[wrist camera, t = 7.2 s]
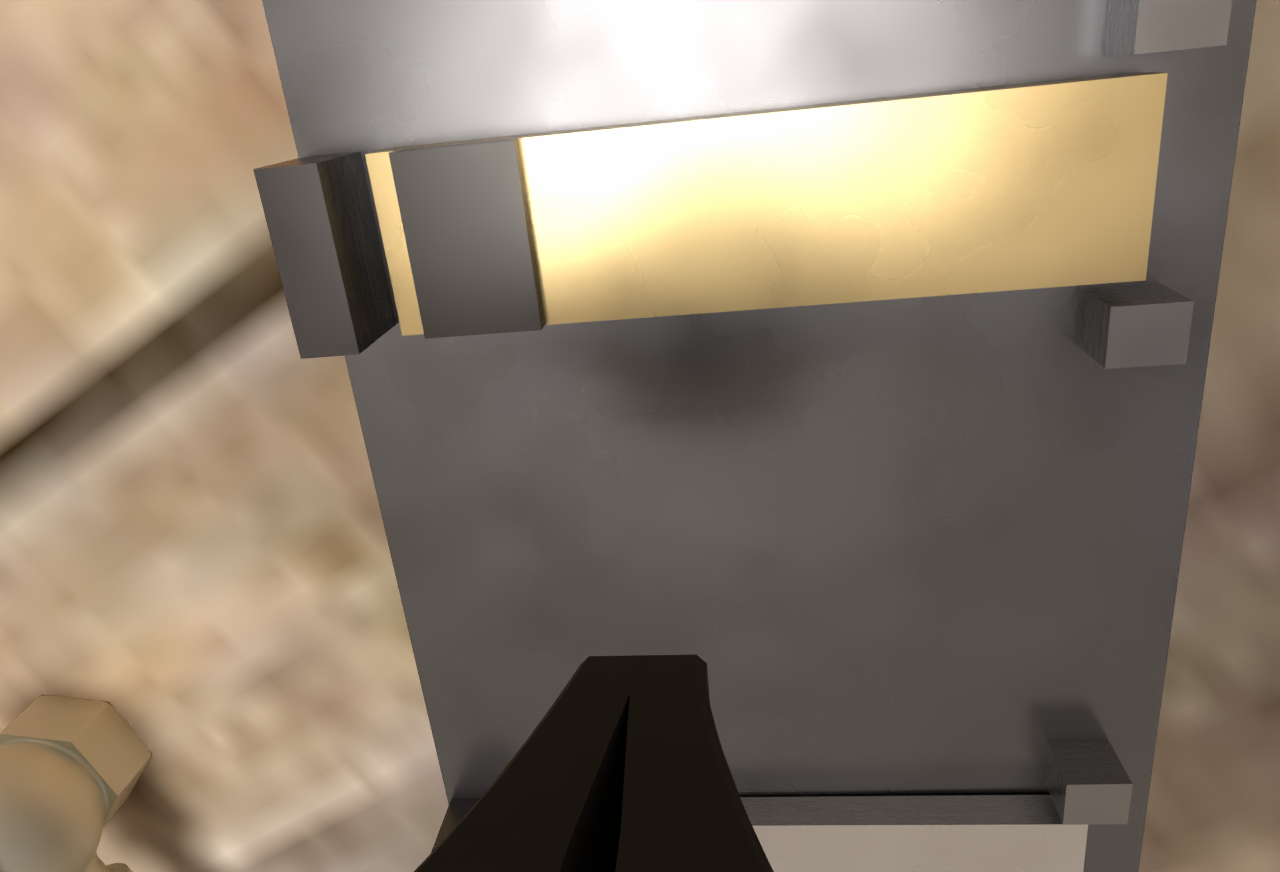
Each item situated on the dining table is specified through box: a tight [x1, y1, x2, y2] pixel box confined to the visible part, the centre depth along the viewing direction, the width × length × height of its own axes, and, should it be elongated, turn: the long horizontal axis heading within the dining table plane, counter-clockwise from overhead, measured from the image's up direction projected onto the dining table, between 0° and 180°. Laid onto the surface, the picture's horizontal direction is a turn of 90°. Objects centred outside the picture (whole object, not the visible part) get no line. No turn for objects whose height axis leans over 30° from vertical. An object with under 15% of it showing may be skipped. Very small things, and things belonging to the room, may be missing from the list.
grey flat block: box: [254, 0, 1256, 872], centre depth 18 cm, size 15×23×5 cm, turn 6°
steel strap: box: [740, 795, 1088, 872], centre depth 20 cm, size 12×3×1 cm, turn 96°
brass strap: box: [365, 72, 1168, 339], centre depth 15 cm, size 12×3×1 cm, turn 96°
